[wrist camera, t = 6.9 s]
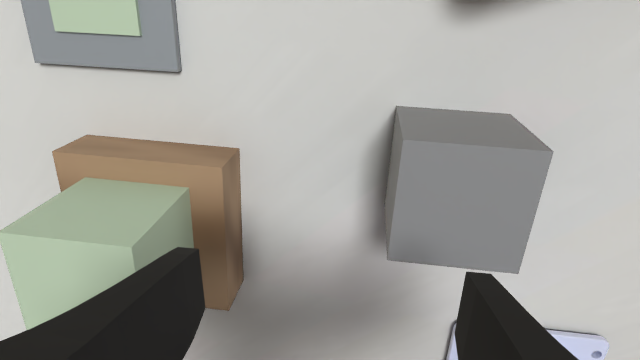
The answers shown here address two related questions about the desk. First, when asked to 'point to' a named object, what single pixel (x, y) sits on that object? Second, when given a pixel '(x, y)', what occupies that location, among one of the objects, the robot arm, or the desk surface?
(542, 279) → the desk surface
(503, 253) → the charcoal block
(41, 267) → the sage block
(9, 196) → the desk surface
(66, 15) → the plaque
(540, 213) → the desk surface
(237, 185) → the light brown block
